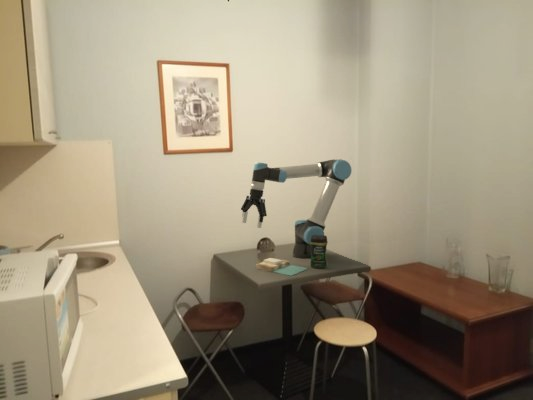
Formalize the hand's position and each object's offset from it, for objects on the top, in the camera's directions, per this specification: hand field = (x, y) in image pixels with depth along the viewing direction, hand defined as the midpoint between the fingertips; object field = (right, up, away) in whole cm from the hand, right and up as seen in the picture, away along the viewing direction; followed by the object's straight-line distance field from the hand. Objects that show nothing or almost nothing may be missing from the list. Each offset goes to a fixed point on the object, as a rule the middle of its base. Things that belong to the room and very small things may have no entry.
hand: (251, 225), depth 233 cm
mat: (+22, -25, -8) cm, 34 cm away
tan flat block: (+13, -24, 0) cm, 27 cm away
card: (+13, -22, 0) cm, 25 cm away
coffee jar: (+39, -24, -3) cm, 46 cm away
